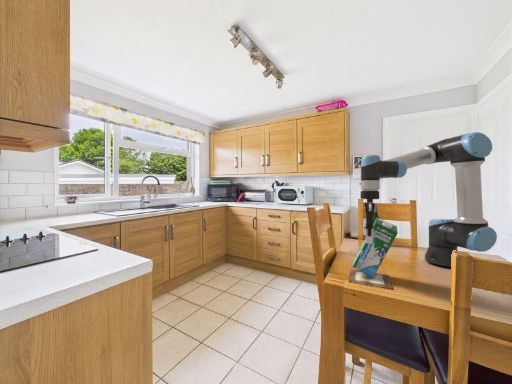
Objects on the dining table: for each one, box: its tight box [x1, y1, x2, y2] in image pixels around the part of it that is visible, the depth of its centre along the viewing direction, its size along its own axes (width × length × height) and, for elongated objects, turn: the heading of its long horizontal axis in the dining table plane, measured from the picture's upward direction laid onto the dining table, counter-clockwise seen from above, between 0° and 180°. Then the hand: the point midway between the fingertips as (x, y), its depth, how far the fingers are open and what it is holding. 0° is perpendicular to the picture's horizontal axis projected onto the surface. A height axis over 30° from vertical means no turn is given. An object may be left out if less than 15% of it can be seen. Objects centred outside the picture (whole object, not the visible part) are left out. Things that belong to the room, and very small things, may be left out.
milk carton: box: [352, 217, 399, 278], centre depth 100 cm, size 9×9×25 cm
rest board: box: [348, 268, 393, 290], centre depth 98 cm, size 16×16×1 cm
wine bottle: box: [373, 204, 381, 224], centre depth 156 cm, size 8×8×30 cm
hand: (369, 242), depth 97 cm, fingers closed, pressing on milk carton
